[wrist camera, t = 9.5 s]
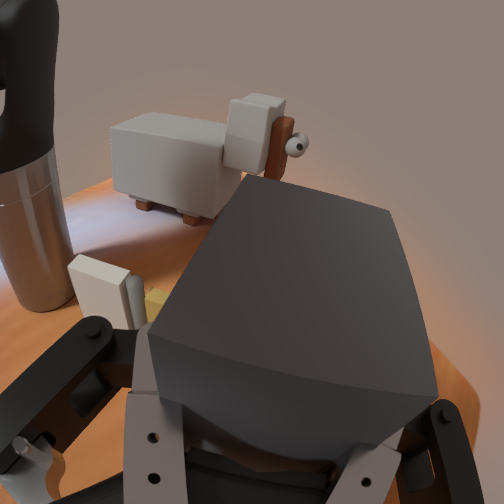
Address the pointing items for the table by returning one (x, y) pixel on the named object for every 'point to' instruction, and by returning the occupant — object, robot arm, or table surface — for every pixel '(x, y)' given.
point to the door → (155, 302)
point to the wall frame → (109, 292)
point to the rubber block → (293, 331)
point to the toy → (202, 155)
